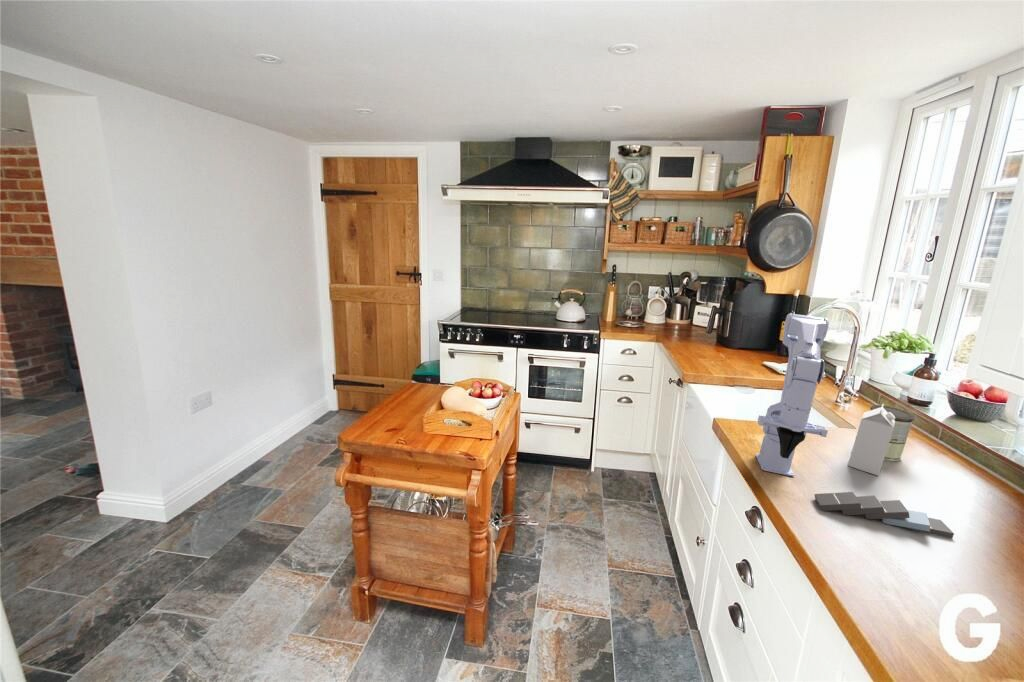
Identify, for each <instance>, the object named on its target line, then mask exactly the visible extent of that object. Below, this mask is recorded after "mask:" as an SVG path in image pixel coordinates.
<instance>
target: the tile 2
mask: <svg viewBox="0 0 1024 682" xmlns="http://www.w3.org/2000/svg"><path fill="white" fill-rule="evenodd" d="M856 497H857V499H858V500H859V502H860V503H861V508H862V509H853V510H839V511H840V513H841V514H842V515H843V516H853V515H855V516H856V515H864V514H876V513H884V508H883V506H882V505H881V503H880V502H879V501H880V500H879V499H878V498H877V496H876V495H862V496H861V495H860V496H856Z"/></svg>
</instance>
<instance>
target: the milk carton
mask: <svg viewBox="0 0 1024 682" xmlns="http://www.w3.org/2000/svg"><path fill="white" fill-rule="evenodd" d="M883 406H885V405H884V403H882V407H880V408H877V409H874V410H871V409H870V410H867V411H865V412H863V414H862V416H861V419H860V421H859V427H858V429H857V432H856V436H855V439H854V443H853V446H852V450H851V453H850V456H849V460H848V463H847V466H848V467H851V468H853V469H855V470H859V471H863V472H866V473H869V474H871V475H873V476H874V475H875V476H879V475H880V472H881V469H882V465H883V464H884V463H883V462H884V461H885V460H884V457H885V454H886V451H887V447H888V444H889V441H890V438H891V435H892V432H893V429H894V424H895V420H894V419H895V416H894V415H893V414H892V413H891V412H887V411H886V410H885V409H884V408H883Z"/></svg>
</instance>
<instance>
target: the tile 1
mask: <svg viewBox="0 0 1024 682" xmlns="http://www.w3.org/2000/svg"><path fill="white" fill-rule="evenodd" d="M857 497H858V496H856V494H855V493H854V491H847V492H845V491H844V492H828V493H827V492H826V493H825V492H824V493H814V499H815V502H816V503H817V505H818V508H819V509H820V511H822V512H824V511H825V512H826V511H827V512H828V511H840V510H853V509H862V508H861V503H860V502H859V500H858V499H857Z"/></svg>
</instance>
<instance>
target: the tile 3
mask: <svg viewBox="0 0 1024 682" xmlns="http://www.w3.org/2000/svg"><path fill="white" fill-rule="evenodd" d="M878 501H879V502H880V503H881V505H882V506H883V508H884V513H876V514H863V516H864V518H865V519H866V520H881V519H891V518H910V517H909V512H908V511H907V510H908V509H907V508H906V507H905V506H904V504H903V502H902V501H901V500H900V499H895V500H894V499H893V500H878Z"/></svg>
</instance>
